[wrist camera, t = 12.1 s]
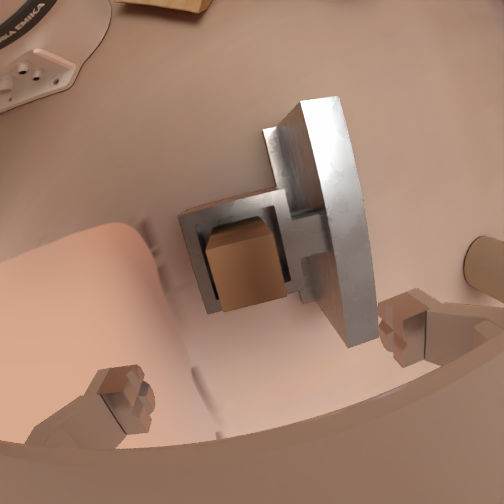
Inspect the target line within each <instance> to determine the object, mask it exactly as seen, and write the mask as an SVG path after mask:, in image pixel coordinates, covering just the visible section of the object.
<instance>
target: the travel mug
mask: <svg viewBox="0 0 504 504" xmlns="http://www.w3.org/2000/svg"><path fill="white" fill-rule="evenodd" d="M464 272H465V278H466V280H467V282H468V284H469V285H471V286H472V287H474V288H476V289H478V290H480V291H482V292H484V293H486V294H487V295H489V296H491V297H493V298H495V299H497V300H499V301H500V302H502V303H504V242H503V241H500V240H497V239H493V238H490V237H486V236H483V237H480V238H478V239H477V240H476V241H475V242H474V243H473V244H472V245H471V247H470V249H469V251H468V253H467V256H466V260H465V266H464Z"/></svg>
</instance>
